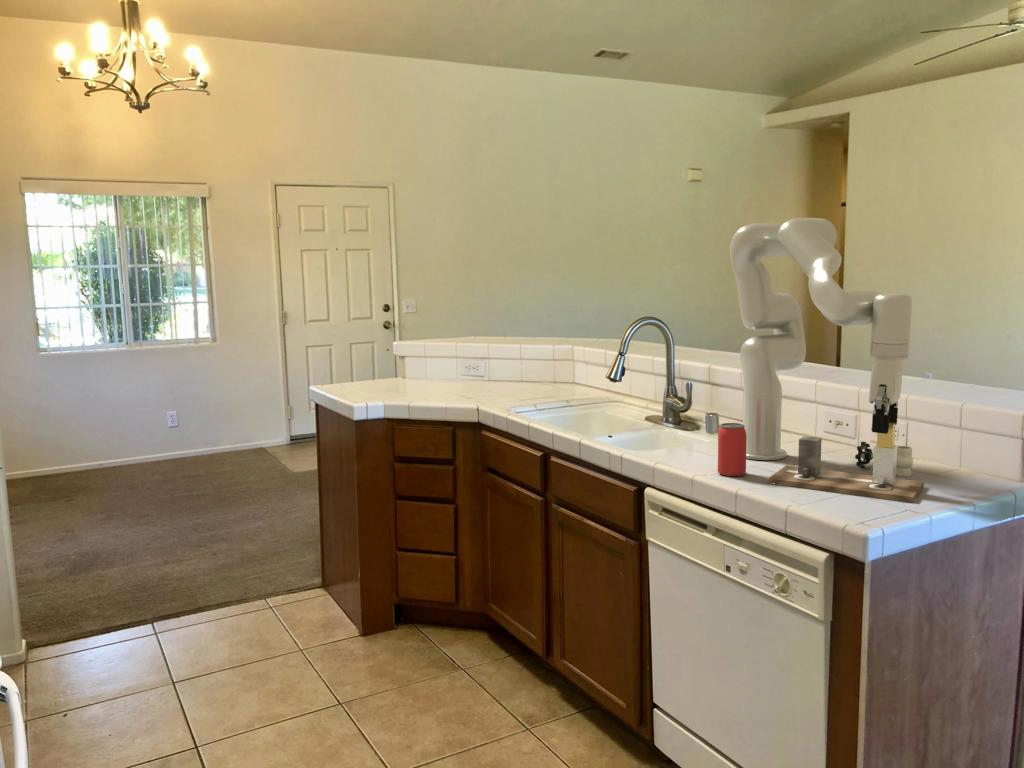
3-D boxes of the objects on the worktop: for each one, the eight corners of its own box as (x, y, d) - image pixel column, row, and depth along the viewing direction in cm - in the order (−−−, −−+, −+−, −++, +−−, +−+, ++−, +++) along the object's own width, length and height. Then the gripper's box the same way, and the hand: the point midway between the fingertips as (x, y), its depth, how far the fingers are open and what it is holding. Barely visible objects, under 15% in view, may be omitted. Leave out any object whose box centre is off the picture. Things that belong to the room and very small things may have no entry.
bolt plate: (767, 483, 181) (768, 441, 180) (786, 470, 193) (787, 431, 191) (912, 502, 164) (914, 457, 163) (923, 487, 175) (925, 444, 174)
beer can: (733, 478, 186) (733, 428, 184) (711, 473, 191) (712, 424, 190) (751, 474, 189) (752, 425, 188) (730, 469, 195) (731, 421, 193)
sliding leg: (870, 484, 172) (872, 426, 170) (876, 478, 177) (878, 421, 175) (890, 487, 170) (892, 428, 168) (895, 480, 175) (898, 423, 173)
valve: (917, 473, 187) (866, 465, 196) (918, 446, 186) (867, 439, 195) (905, 479, 183) (854, 470, 192) (907, 451, 182) (855, 443, 191)
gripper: (878, 345, 179) (874, 419, 182) (861, 354, 166) (857, 434, 168) (915, 347, 175) (910, 423, 178) (901, 356, 161) (895, 438, 164)
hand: (884, 428), depth 173 cm, fingers open, 9 cm apart
